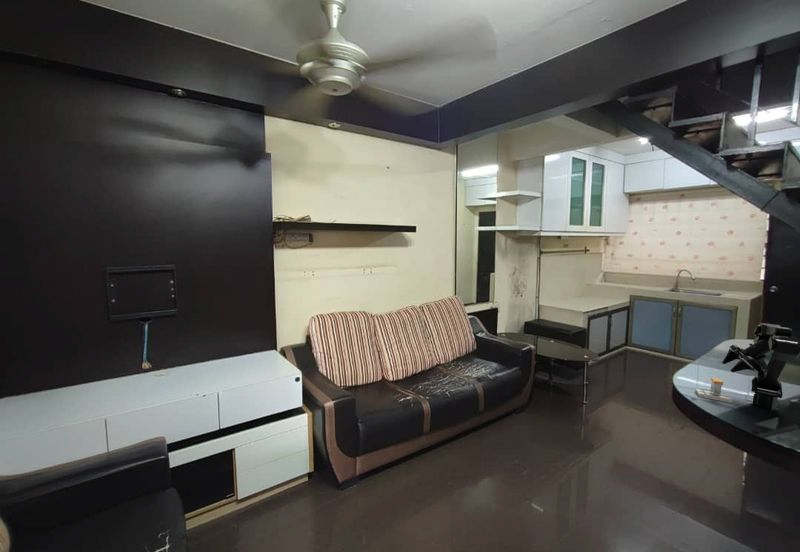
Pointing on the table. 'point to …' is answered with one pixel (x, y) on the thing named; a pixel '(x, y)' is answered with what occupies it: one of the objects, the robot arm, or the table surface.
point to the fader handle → (716, 386)
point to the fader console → (709, 395)
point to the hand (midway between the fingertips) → (727, 367)
